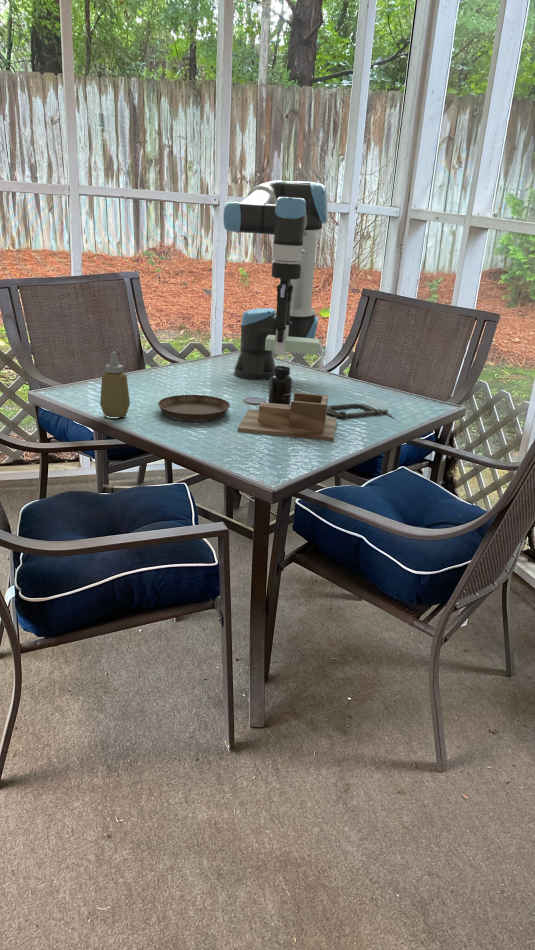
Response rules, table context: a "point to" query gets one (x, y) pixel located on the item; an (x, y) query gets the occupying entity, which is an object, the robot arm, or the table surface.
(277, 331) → the robot arm
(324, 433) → the cradle
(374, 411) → the c clamp
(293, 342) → the bar
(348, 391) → the table surface
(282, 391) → the supplement bottle
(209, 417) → the plant saucer
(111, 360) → the squeeze bottle
